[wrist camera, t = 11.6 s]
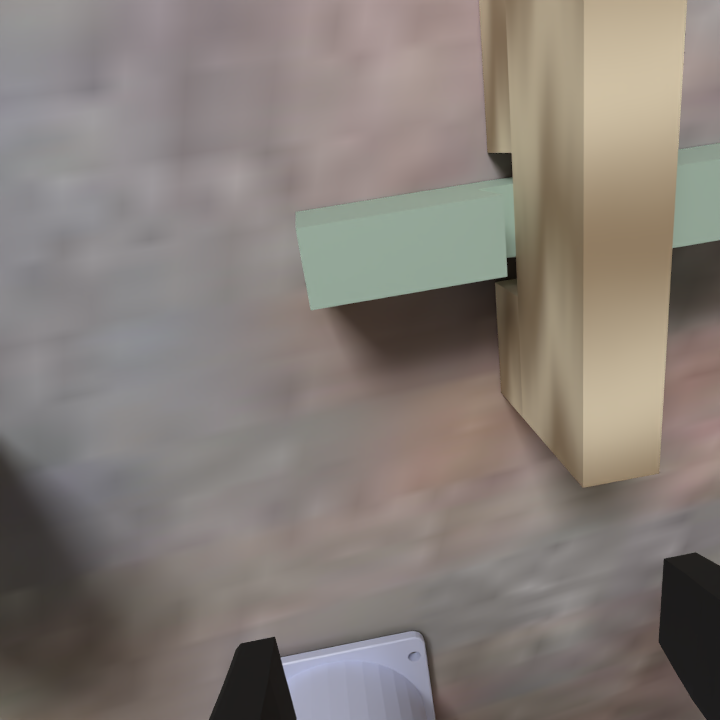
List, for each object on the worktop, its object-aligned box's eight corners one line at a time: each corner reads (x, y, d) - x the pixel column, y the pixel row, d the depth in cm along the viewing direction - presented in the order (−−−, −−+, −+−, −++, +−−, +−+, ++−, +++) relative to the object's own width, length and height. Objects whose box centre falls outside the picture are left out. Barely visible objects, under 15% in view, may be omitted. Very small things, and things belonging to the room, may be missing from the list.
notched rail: (731, 205, 18) (844, 218, 14) (307, 277, 17) (310, 310, 14) (738, 140, 17) (858, 136, 14) (295, 212, 17) (295, 228, 13)
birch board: (555, 382, 20) (659, 473, 14) (501, 392, 20) (582, 487, 14) (549, -11, 15) (693, -105, 10) (478, -1, 15) (584, -89, 10)
